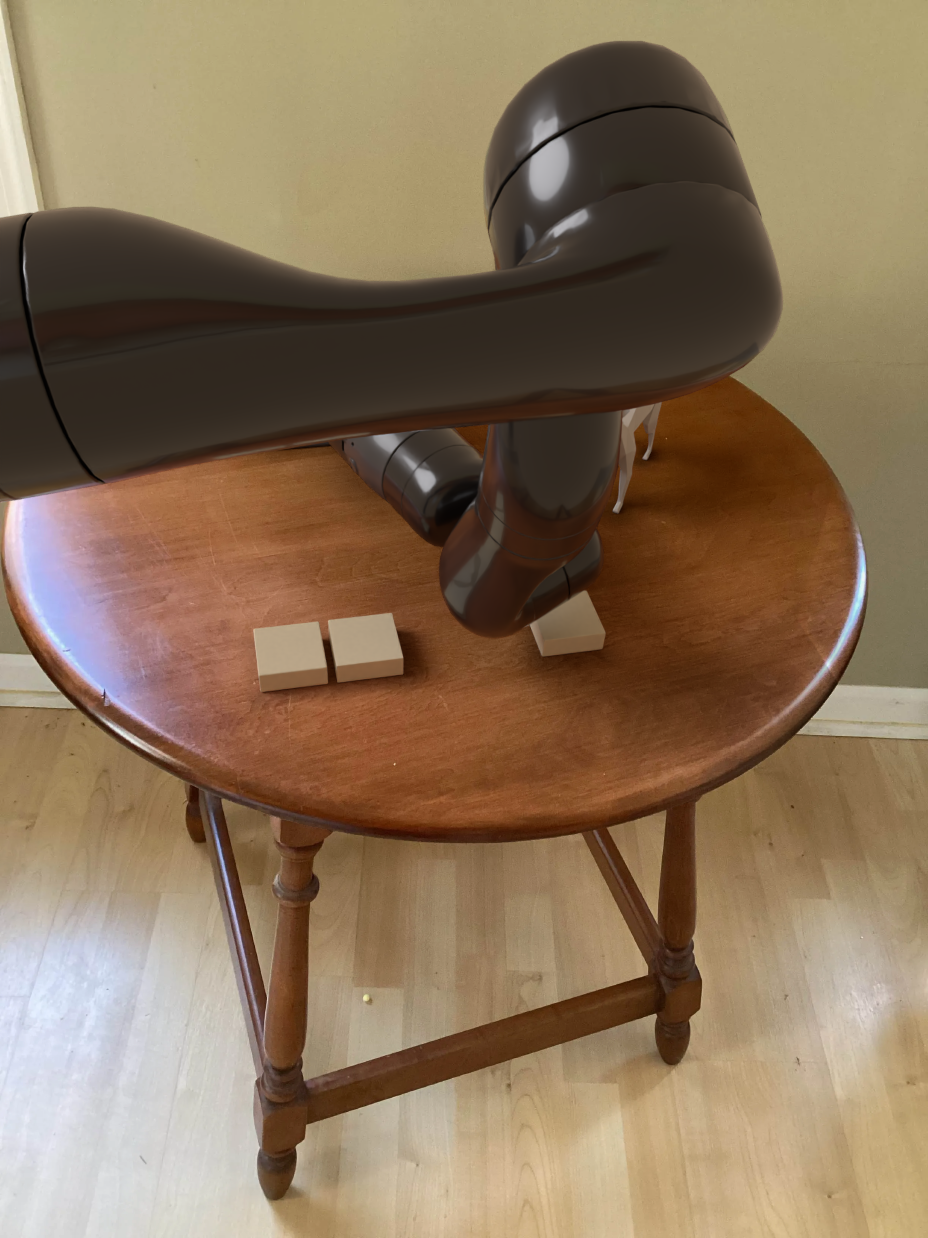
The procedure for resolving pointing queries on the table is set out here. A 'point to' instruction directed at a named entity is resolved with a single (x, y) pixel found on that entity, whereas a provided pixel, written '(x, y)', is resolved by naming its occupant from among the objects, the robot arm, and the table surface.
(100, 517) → the table surface
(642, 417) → the cat figurine
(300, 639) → the near word
